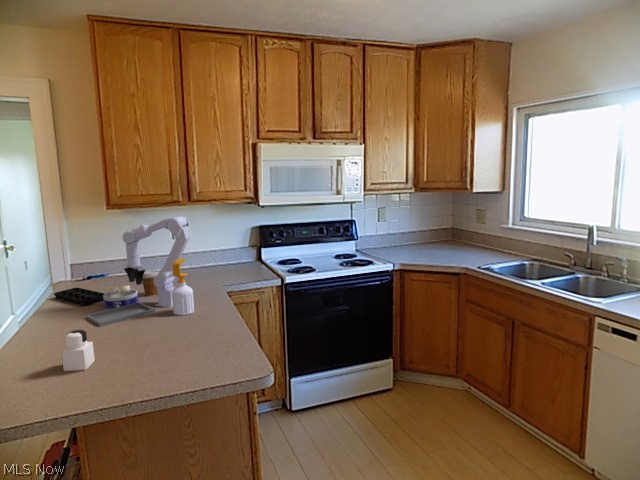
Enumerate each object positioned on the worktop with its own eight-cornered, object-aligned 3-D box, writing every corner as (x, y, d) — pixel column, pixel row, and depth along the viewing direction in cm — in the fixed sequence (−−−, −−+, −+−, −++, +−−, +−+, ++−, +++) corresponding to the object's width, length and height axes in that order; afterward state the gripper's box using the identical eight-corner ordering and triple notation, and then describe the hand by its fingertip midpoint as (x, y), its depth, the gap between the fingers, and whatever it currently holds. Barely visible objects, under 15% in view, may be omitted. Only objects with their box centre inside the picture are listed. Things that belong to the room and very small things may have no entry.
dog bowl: (104, 311, 205) (103, 299, 204) (103, 303, 219) (102, 291, 218) (139, 306, 212) (138, 294, 211) (137, 298, 226) (135, 287, 225)
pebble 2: (130, 290, 218) (129, 284, 217) (130, 293, 214) (129, 286, 213) (120, 292, 216) (120, 285, 215) (120, 294, 212) (119, 287, 211)
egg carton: (88, 308, 212) (87, 300, 212) (43, 302, 222) (42, 295, 222) (116, 297, 228) (116, 290, 228) (73, 293, 239) (72, 286, 238)
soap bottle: (198, 310, 203) (194, 258, 199) (184, 316, 195) (180, 262, 191) (183, 308, 207) (179, 257, 203) (169, 314, 198) (164, 261, 194)
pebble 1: (113, 291, 217) (112, 285, 216) (120, 292, 215) (119, 286, 215) (106, 294, 213) (105, 287, 212) (112, 295, 211) (112, 288, 211)
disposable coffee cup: (138, 296, 229) (135, 273, 227) (151, 291, 237) (149, 269, 236) (152, 297, 225) (150, 275, 223) (165, 292, 234) (163, 270, 232)
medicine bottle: (73, 362, 151) (69, 328, 149) (95, 360, 151) (91, 327, 149) (63, 371, 144) (58, 336, 142) (86, 370, 144) (82, 335, 142)
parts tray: (139, 306, 212) (139, 302, 211) (155, 313, 201) (155, 308, 200) (86, 319, 195) (85, 314, 194) (100, 327, 184) (99, 322, 183)
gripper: (118, 255, 214) (121, 282, 216) (131, 258, 204) (133, 287, 206) (133, 252, 219) (135, 279, 221) (146, 256, 209) (148, 284, 211)
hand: (135, 283), depth 214 cm, fingers open, 7 cm apart
